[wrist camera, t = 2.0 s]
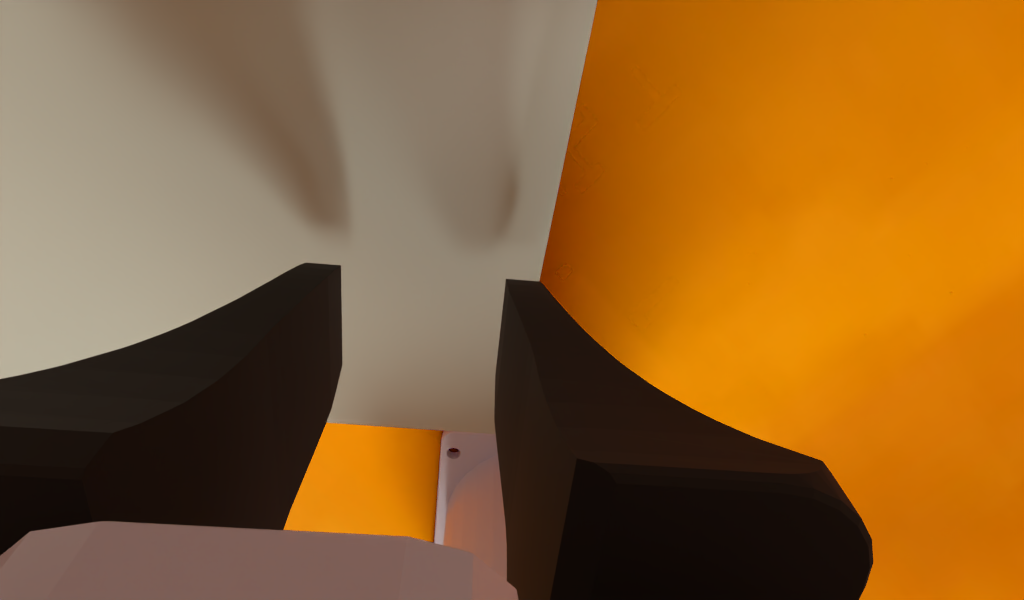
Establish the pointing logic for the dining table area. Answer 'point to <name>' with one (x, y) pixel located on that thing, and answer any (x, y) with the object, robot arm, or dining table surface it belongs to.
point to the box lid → (285, 177)
